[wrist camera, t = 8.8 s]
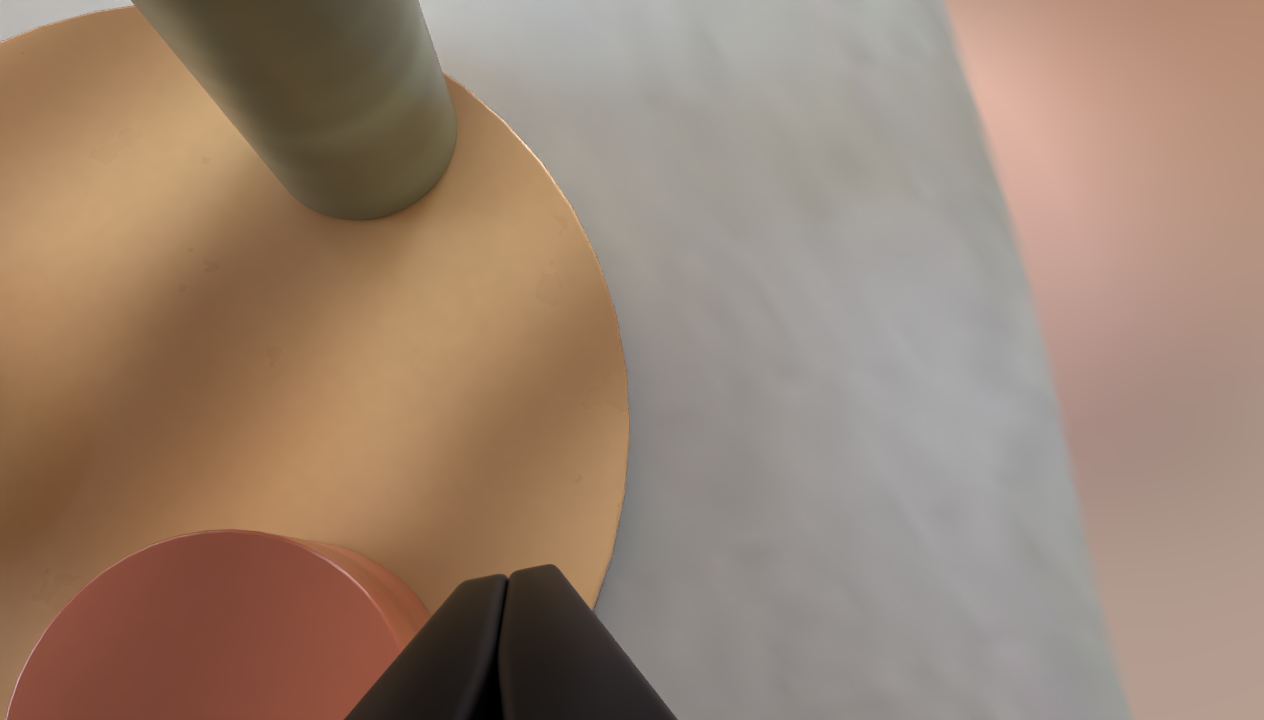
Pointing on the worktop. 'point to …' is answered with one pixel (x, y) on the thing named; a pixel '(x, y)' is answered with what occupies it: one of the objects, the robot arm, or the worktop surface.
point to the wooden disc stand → (277, 359)
